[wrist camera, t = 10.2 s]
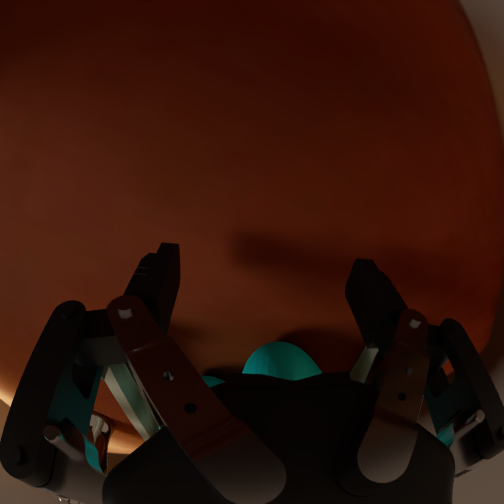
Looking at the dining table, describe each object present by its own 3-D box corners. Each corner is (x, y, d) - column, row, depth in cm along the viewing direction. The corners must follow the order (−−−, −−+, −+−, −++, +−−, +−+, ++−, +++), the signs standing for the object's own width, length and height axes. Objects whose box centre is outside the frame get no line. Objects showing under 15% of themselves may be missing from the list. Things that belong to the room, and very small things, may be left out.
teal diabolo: (162, 359, 20) (141, 477, 11) (268, 305, 17) (285, 467, 8) (240, 406, 24) (242, 498, 15) (333, 370, 21) (358, 476, 12)
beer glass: (124, 432, 30) (110, 517, 17) (85, 421, 29) (66, 500, 17) (109, 413, 26) (89, 513, 14) (66, 400, 26) (41, 490, 13)
